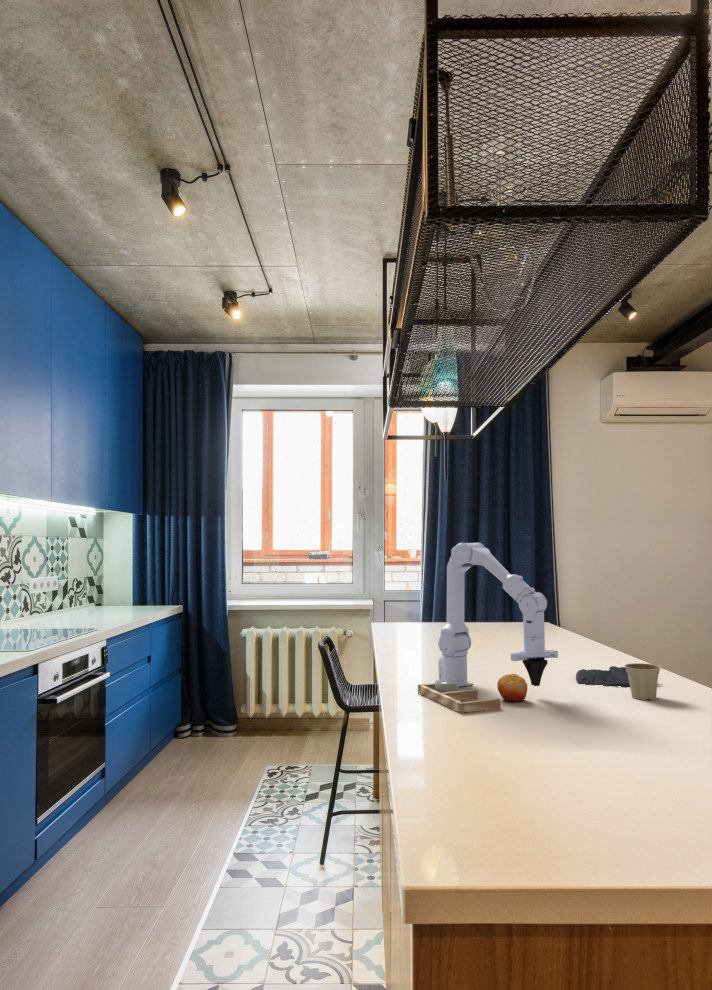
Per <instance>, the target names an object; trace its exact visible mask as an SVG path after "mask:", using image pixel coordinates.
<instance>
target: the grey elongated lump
mask: <svg viewBox="0 0 712 990" xmlns="http://www.w3.org/2000/svg"><path fill="white" fill-rule="evenodd" d="M575 680H576V683H577V684H578V685H580V684H585V685H584V686H595V685H603V686H602V687H609V686H621V687H620V688H627V687H630V683H629V678H628V673H627V672H626V668H625V667H624V666H622V667H617V666H609V668H608V670H607V669H605V670H604V669H602V670H601V669H595V668H594V669H593V668H592V669H585V668H583V669H579V670H578V671H577V672H576V674H575Z"/></svg>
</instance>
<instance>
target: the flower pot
mask: <svg viewBox="0 0 712 990" xmlns="http://www.w3.org/2000/svg"><path fill="white" fill-rule="evenodd" d="M623 667H625V668H626V672H627V673H628V678H629V683H630V688H629V689H630V694H631V697H632V698H634V699H636V700H642V701H647V700H651V701H654V700H656V699H657V691H658V680H659V674H660V670H661V669H662V667H661V666H659V665H656V664H652V663H643V662H642V663H641V662H640V663H637V662H636V663H626V664H624V665H623Z"/></svg>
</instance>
